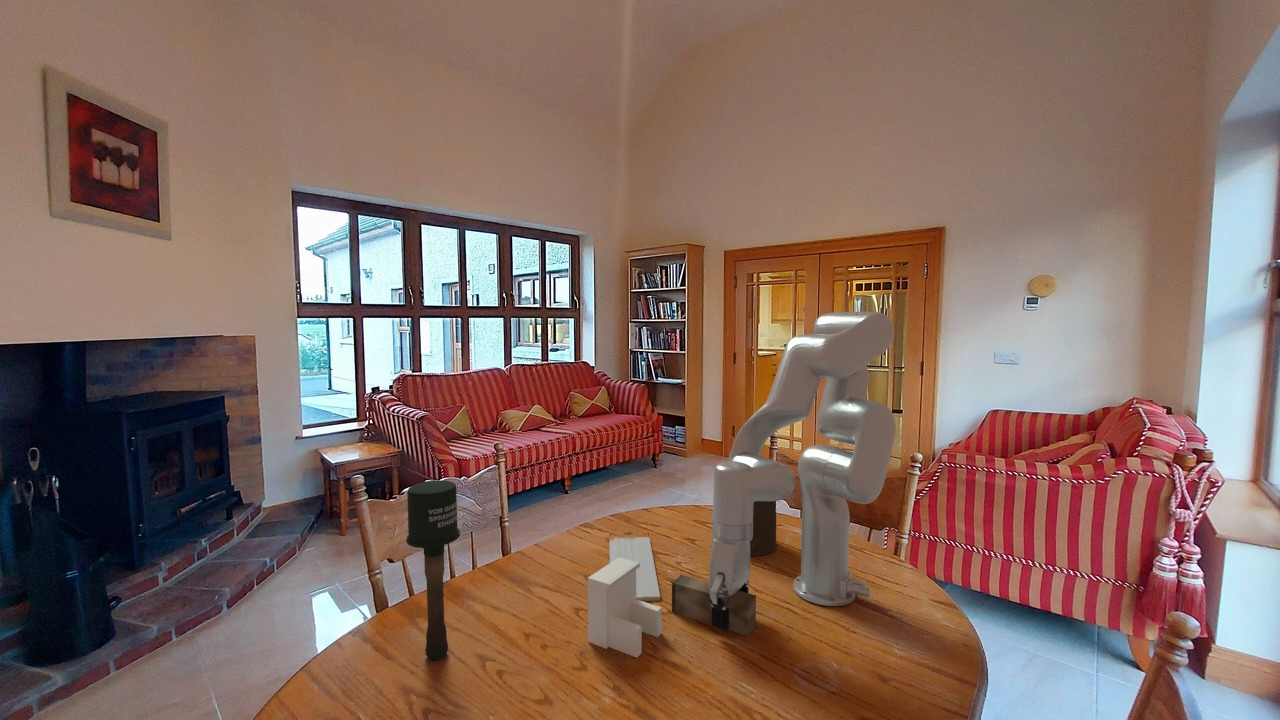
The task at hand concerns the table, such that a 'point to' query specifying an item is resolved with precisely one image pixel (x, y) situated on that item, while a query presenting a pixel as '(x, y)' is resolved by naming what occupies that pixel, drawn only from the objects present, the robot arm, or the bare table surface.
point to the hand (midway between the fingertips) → (730, 616)
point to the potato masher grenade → (433, 549)
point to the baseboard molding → (646, 573)
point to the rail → (696, 604)
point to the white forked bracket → (619, 609)
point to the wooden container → (763, 528)
